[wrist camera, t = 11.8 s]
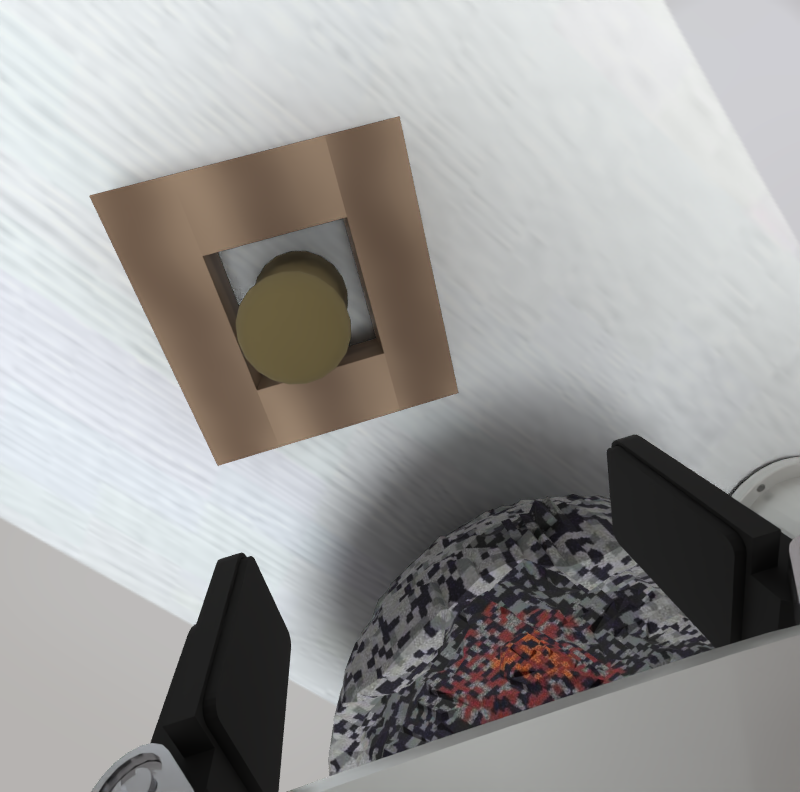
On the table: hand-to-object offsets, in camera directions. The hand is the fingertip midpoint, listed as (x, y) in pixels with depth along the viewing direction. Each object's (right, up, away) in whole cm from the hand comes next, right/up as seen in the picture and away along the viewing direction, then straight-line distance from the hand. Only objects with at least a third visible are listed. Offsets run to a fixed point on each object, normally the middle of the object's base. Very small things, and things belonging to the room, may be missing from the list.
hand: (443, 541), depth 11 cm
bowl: (+8, -13, +30) cm, 34 cm away
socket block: (-8, +10, +18) cm, 22 cm away
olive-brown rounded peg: (-8, +10, +18) cm, 22 cm away
